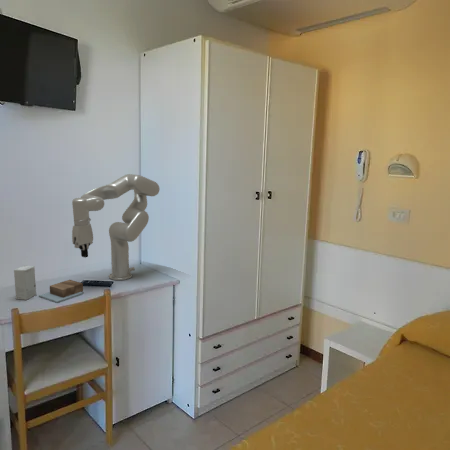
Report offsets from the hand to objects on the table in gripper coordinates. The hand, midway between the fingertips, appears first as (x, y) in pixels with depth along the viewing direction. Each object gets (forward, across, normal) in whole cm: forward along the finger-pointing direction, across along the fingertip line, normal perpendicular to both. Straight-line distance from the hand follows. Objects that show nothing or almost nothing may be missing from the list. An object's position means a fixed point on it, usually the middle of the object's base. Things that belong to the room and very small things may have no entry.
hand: (84, 256), depth 220 cm
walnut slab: (+13, +7, 0) cm, 15 cm away
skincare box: (+15, +27, -12) cm, 33 cm away
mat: (+16, +16, 0) cm, 22 cm away
